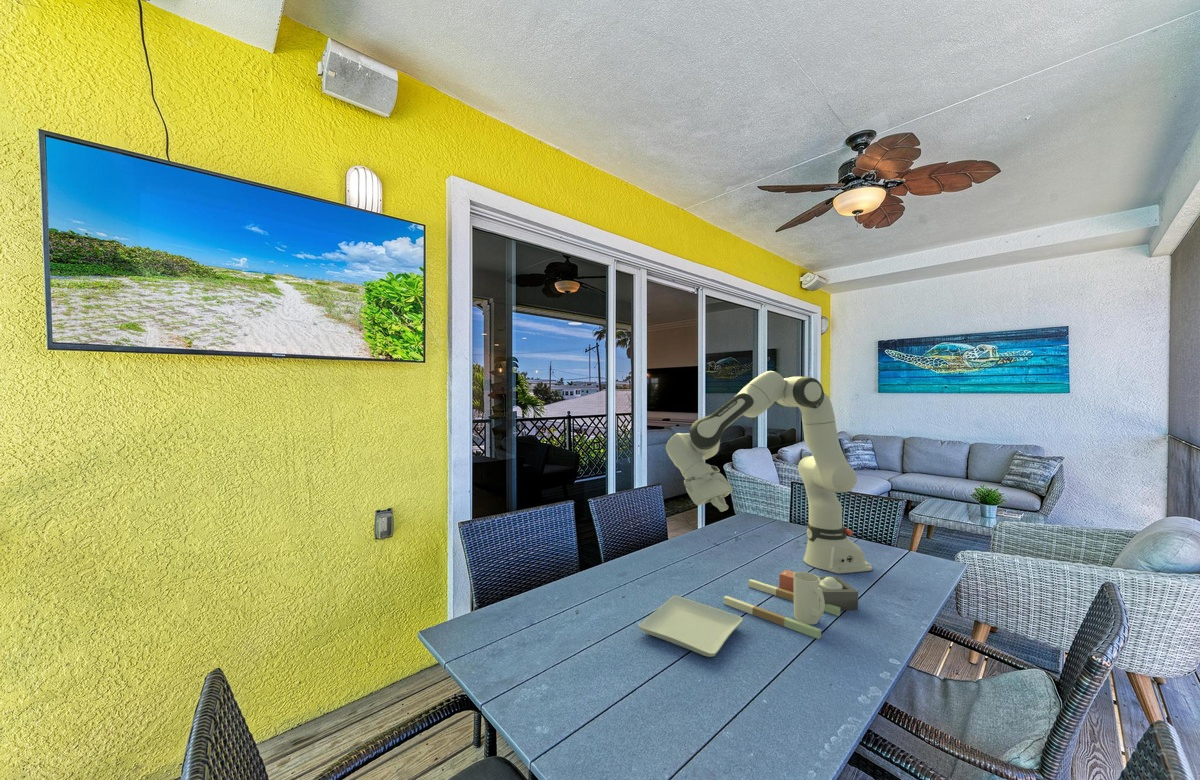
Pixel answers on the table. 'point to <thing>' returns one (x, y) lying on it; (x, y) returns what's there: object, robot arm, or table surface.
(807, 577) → the mug
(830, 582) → the pop dome
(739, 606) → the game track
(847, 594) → the dome housing
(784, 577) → the die
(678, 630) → the salad plate
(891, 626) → the table surface
